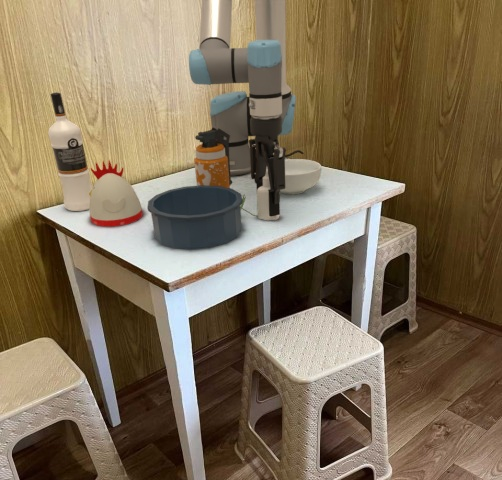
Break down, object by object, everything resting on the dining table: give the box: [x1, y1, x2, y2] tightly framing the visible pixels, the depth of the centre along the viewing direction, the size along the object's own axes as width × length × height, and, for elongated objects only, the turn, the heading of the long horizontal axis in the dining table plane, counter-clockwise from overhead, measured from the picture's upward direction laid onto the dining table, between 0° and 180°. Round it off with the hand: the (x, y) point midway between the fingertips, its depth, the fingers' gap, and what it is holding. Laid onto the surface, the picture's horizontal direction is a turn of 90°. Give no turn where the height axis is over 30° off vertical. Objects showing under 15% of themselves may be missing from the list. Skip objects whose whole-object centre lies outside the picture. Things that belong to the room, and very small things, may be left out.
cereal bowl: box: [266, 158, 322, 195], centre depth 151 cm, size 17×17×7 cm
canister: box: [193, 127, 233, 188], centre depth 140 cm, size 9×11×20 cm
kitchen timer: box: [88, 159, 144, 227], centre depth 136 cm, size 14×14×15 cm
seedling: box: [240, 194, 259, 218], centre depth 134 cm, size 7×8×7 cm
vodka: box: [47, 92, 93, 212], centre depth 141 cm, size 9×9×30 cm
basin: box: [147, 185, 243, 250], centre depth 127 cm, size 23×23×8 cm
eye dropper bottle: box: [256, 171, 280, 221], centre depth 131 cm, size 4×6×12 cm
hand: (268, 211), depth 134 cm, fingers closed on eye dropper bottle, 5 cm apart
